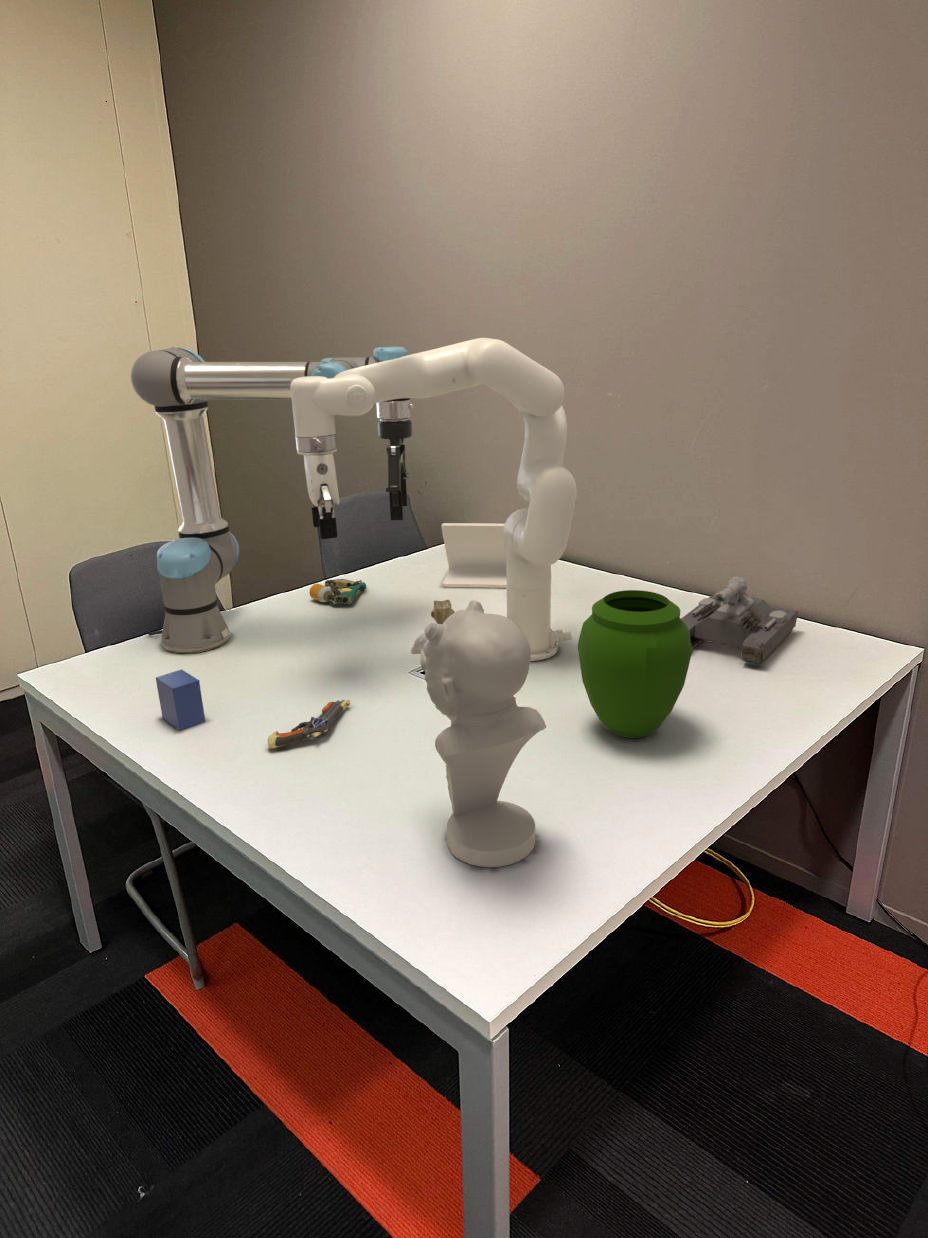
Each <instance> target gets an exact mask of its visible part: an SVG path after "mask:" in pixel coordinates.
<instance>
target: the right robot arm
mask: <svg viewBox="0 0 928 1238" xmlns="http://www.w3.org/2000/svg"><path fill="white" fill-rule="evenodd" d="M481 385H485V386H486V387H488V388H490V389H492V391H495V392H496V393H498V394H499V395H501V396H502V397H504V398H506V399H507V400H509V402H510V403H511V405H513V407H515V409H517V410H518V411H519V412H520V414H521V416H522V419H523V423H524V437H523V438H524V440H523V446H522V447H523V448H522V452H521V458H520V463H519V468H518V474H517V479H516V489H517V492H518V494H519V496H520V497H521V498H522V499H523V500H525V502H527V503H529V504H528V507H527V508H526V507H525V508H519V509H517V510H514V511H513V512H512V513H510V515H509V516H508V517H507V519H506V521H505V522H504V524H505V525H504V530H503V541H504V549H505V556H506V570H507V588H506V617H507V618H509V619H511V620H512V621H513V622H514V623H515V624H516V625H517V626H518V627H519V628H520V629H521V630H522V632H523V633H524V634H525V636H526V638H527V640H528V643H529V646H530V652H531V653H530V655H531V656H530V662H535V661H536V662H537V661H543V660H547V659H550V658H552V657H554V656H555V655H556V654H557V652H558V643H559V642H568V641H569V642H570V641H572V640H573V633H572V632H571V631H563V629H556V630H553V629H552V628H551V625H552V621H551V618H552V616H551V613H552V609H551V608H552V565H555V563H557V562H558V561H559V560H560V559H561V558H562V557H563V555H564V553H565V551H566V549H567V546H568V543H569V540H570V539H569V538H570V535H571V534H570V533H571V528H572V524H573V519H574V515H575V510H576V504H577V497H578V488H577V483H576V480H575V478H574V475H573V474H572V473H571V472H570V470H568V468H566V467H565V466H564V459H565V453H566V445H567V438H568V421H567V416H566V411H565V409H564V406H563V403H564V402H565V397H566V396H565V395H566V391H565V385H564V384H563V381H562V380H561V378H560V377H559V376H558V375H557V374H556V373H555V372H553V371H551V370H550V369H549V368H546V367H545V366H543V365H542V364H540V363H538V362H537V361H535V360H534V359H532V358H530V357H529V356H527V355H526V354H524V353H522V352H521V351H520V350H518V349H516V348H515V347H513V346H512V345H510V344H509V343H507V342H506V341H503V340H501V339H497V338H492V337H491V338H490V337H479V338H473V339H469V340H465V341H460V342H457V343H453V344H449V345H445V346H441V347H437V348H433V349H429V350H425V351H420V352H416V353H412V354H408V355H407V356H404V357H400V358H397V359H392V360H388V361H383V362H379V363H374V364H370V365H366V366H362V367H358V368H354V369H350V370H346V371H343V372H341V373H339V374H337V375H336V376H335V377H334V378H331V379H328V378H326V377H322V376H307V377H299V378H296V379H294V380H293V381H292V382H291V386H290V387H291V398H292V399H291V405H292V417H293V425H294V434H295V444H296V452H297V455H299V456H303V461H304V473H305V480H306V487H307V493H308V497H309V500H310V501H311V516H312V525H313V527H314V528H319V537H320V539H321V540H328V539H336V538H338V526H337V518H336V514H335V508H334V504H335V505H336V506H338V505H339V504H340V502H341V501H340V495H339V486H338V479H337V470H336V464H335V457H334V453H336V452H338V443H337V435H336V434H337V433H336V422H335V421H336V420H335V416H346V417H359V416H362V415H365V414H367V413H368V412H369V411H371V409H372V408H373V407H374V405H376V403H379V402H383V401H387V400H393V399H401V398H410V399H416V400H423V399H430V398H434V397H438V396H442V395H446V394H449V393H453V392H456V391H457V392H458V391H460V390H464V389H469V388H470V389H471V388H473V387H477V386H481Z"/></svg>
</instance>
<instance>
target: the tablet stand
mask: <svg viewBox="0 0 928 1238" xmlns="http://www.w3.org/2000/svg"><path fill="white" fill-rule="evenodd" d="M504 525H505V523H490V522H489V523H482V522H480V523H479V522H470V523H469V522H462V523H461V522H443V523H442V524H441V533H442V538H443V543H444V548H445V549H444V550H445V554H446V558H447V565H448V571H447V573H446V575H445V576H444V579H443V580H442V587H445V588H450V587H451V588H490V589H491V588H492V589H494V588H495V589H497V588H498V589H502V588H503V589H507V570H506V556H505V549H504V541H503V530H504Z"/></svg>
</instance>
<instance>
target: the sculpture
mask: <svg viewBox="0 0 928 1238" xmlns="http://www.w3.org/2000/svg"><path fill="white" fill-rule="evenodd" d="M455 612H456V611H455V609H453V608H452V602H451V601H450V599H445V600H433V610H431V612H430V617H431V618H432V619H433V620H434V621H435V622H436V623H435V624H443V623H444V622H445V620H446V619H447V618H448V617H450V616H451V615H452V614H453V613H455Z"/></svg>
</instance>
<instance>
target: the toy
mask: <svg viewBox="0 0 928 1238" xmlns="http://www.w3.org/2000/svg"><path fill="white" fill-rule="evenodd" d="M747 590H748V581H747V580H746V579H745V578H744V577H742V576H733V577H731V578H730V579H729V580H728V582H727V585H726V587H724V588H723V589H722V590H721V591H719V590H717V591H716V592H715V594H713V595H710V596H708V598H703V599H701V600H700V601H698V604H697V605H696V607H694V608H693V609H691V610H690V611H689V612H688V613H686V614H685V615H684V616H682V617H680V618H681V620H682V621H683V622H684V623H685V624H686V626H687V627H688V629H689V634H690V640H691V647H692V649H693V648H695V646H697V645H698V644H700V642H701V641H705V642H708V643H714V644H720V645H724V646H729V647H733V648H737V649H738V648H739V649H741V653H740V660H742V661H743V662H747V663H752V664H756V665H761V666H762V665H763V664H764V663H765V662H766V661H767V660H768V658H769V657H771V656H772V655H773V653H774V652H775V651H776V650H777V649H779V647H780V646H781V645H783V643H784V642H785V641H786V640H787V639H788V638H789V637H790V636H791V635H792V633H793V630H794V628H796V625H797V620H798V615H799V611H798V610H793V609H787V608H781V607H778V608H776V609H775V610H774V609H773V608H772V607H771V606H770V605H769V604H768V603H767V602H766V601H765V600H764V599H763V598H758V597H753V596H750V595H748V593H746V592H747Z"/></svg>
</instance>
